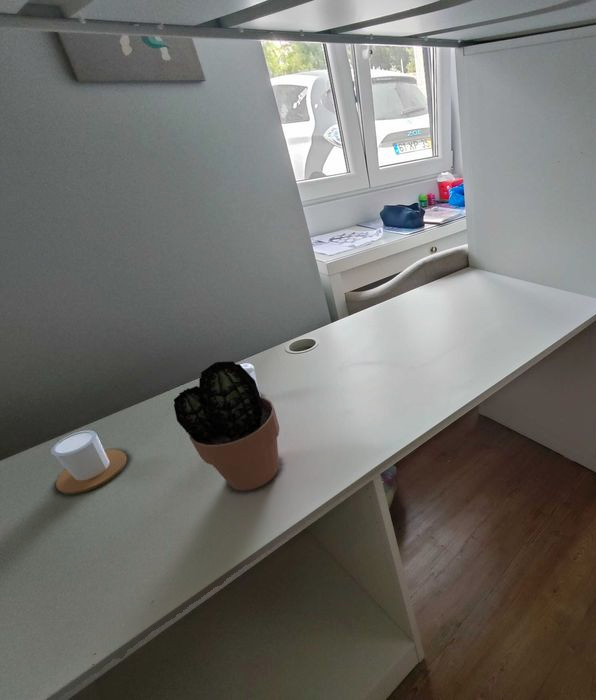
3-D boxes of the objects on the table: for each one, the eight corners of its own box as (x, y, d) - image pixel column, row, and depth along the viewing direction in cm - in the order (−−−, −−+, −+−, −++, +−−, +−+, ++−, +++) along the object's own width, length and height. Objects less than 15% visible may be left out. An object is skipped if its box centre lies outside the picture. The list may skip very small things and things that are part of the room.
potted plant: (261, 439, 92) (221, 333, 79) (307, 461, 85) (272, 350, 72) (199, 484, 82) (141, 371, 69) (246, 513, 75) (192, 395, 63)
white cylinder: (109, 451, 89) (93, 424, 86) (116, 468, 85) (99, 441, 82) (67, 470, 85) (48, 442, 82) (72, 489, 81) (52, 461, 78)
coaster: (46, 501, 80) (44, 499, 79) (71, 460, 89) (69, 457, 88) (116, 484, 83) (115, 482, 82) (133, 445, 92) (132, 443, 91)
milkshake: (237, 406, 102) (222, 370, 96) (250, 392, 106) (237, 357, 101) (255, 407, 101) (241, 371, 96) (267, 393, 105) (255, 358, 100)
